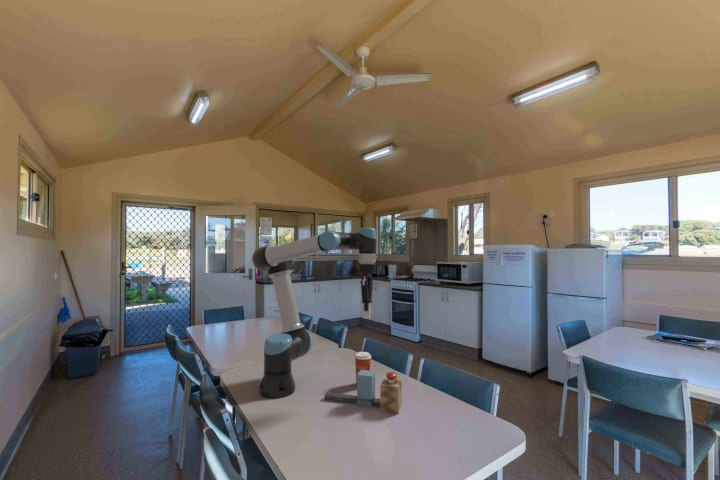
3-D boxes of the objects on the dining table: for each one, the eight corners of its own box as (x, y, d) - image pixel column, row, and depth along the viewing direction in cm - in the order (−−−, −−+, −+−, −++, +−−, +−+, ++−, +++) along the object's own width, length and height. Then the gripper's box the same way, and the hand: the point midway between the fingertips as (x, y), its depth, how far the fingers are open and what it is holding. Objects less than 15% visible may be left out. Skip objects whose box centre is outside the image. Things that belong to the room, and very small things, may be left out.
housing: (380, 411, 129) (380, 384, 130) (384, 401, 138) (385, 376, 138) (398, 413, 127) (398, 387, 128) (401, 403, 136) (401, 378, 136)
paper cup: (351, 386, 153) (351, 355, 153) (359, 380, 160) (359, 350, 160) (366, 389, 149) (366, 357, 150) (374, 383, 156) (374, 353, 156)
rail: (324, 399, 139) (324, 395, 139) (327, 396, 142) (327, 392, 142) (381, 407, 132) (381, 402, 132) (383, 404, 135) (383, 399, 135)
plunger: (385, 391, 132) (385, 375, 132) (387, 387, 135) (387, 371, 136) (395, 392, 130) (395, 376, 131) (397, 388, 134) (397, 372, 134)
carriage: (356, 405, 133) (357, 374, 134) (360, 398, 139) (361, 369, 140) (371, 407, 132) (371, 376, 132) (375, 400, 138) (375, 371, 138)
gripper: (372, 264, 139) (371, 321, 138) (378, 263, 152) (378, 315, 151) (354, 263, 141) (354, 320, 140) (362, 262, 154) (362, 314, 153)
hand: (366, 318), depth 146 cm, fingers closed
